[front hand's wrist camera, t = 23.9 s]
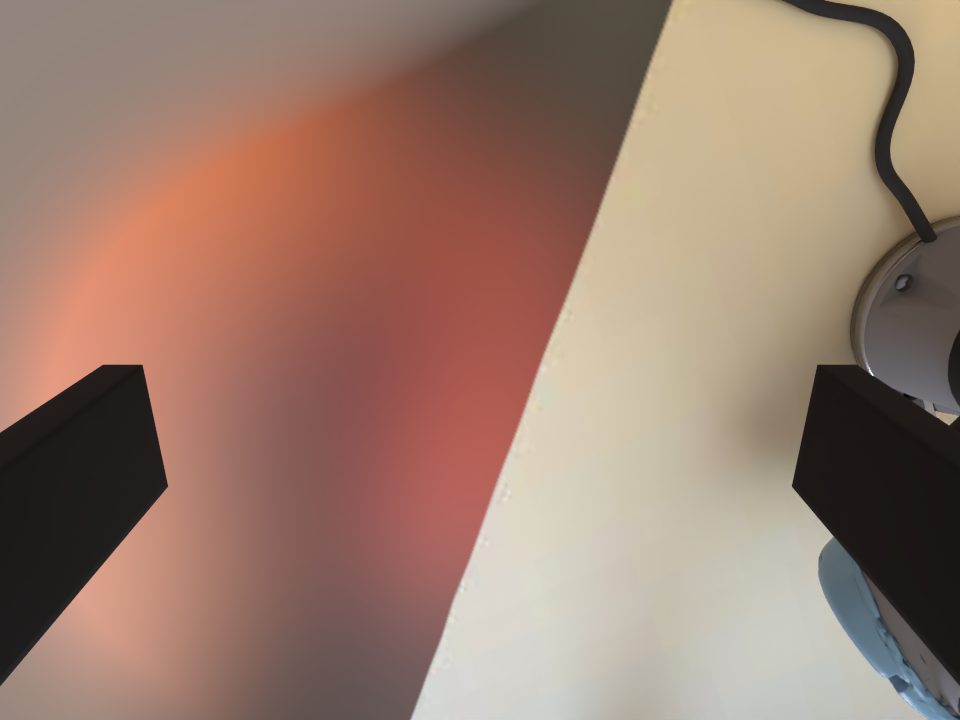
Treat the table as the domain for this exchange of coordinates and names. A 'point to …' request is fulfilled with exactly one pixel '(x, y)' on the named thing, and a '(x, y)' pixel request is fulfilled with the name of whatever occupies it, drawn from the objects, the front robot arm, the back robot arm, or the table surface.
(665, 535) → the table surface
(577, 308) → the table surface
